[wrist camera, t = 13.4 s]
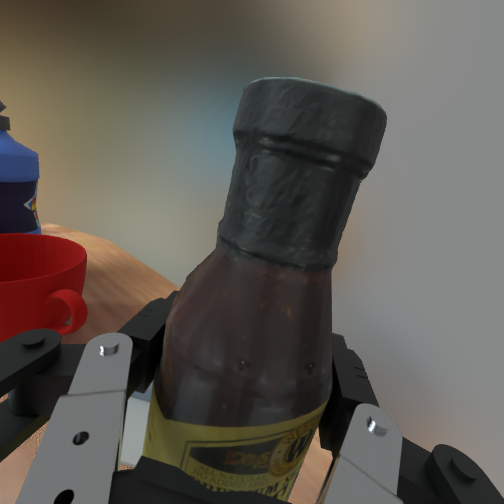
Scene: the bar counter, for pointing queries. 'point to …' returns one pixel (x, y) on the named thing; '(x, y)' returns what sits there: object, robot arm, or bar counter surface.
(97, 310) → the bar counter surface
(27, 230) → the water bottle
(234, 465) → the sauce bottle
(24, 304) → the ceramic cup
